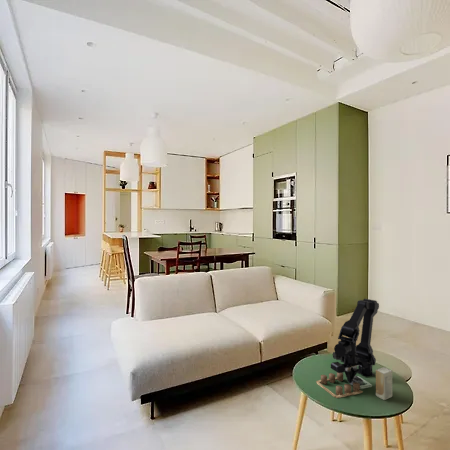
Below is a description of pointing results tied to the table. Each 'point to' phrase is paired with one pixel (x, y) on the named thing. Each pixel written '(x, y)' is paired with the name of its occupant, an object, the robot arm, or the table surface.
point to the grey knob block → (357, 380)
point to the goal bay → (365, 383)
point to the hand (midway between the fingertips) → (349, 382)
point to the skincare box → (384, 383)
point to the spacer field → (338, 388)
